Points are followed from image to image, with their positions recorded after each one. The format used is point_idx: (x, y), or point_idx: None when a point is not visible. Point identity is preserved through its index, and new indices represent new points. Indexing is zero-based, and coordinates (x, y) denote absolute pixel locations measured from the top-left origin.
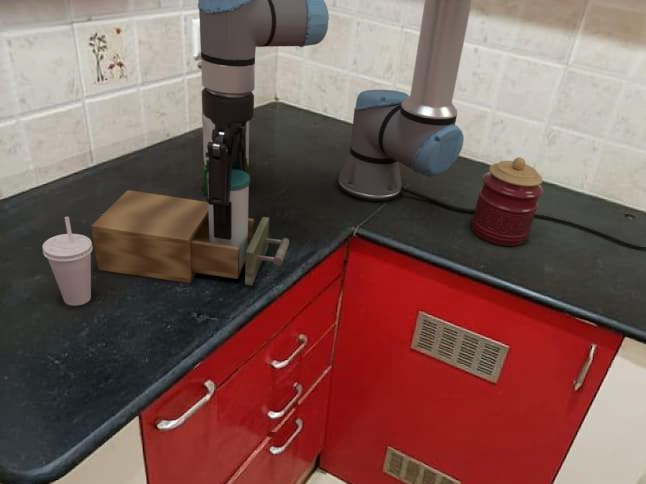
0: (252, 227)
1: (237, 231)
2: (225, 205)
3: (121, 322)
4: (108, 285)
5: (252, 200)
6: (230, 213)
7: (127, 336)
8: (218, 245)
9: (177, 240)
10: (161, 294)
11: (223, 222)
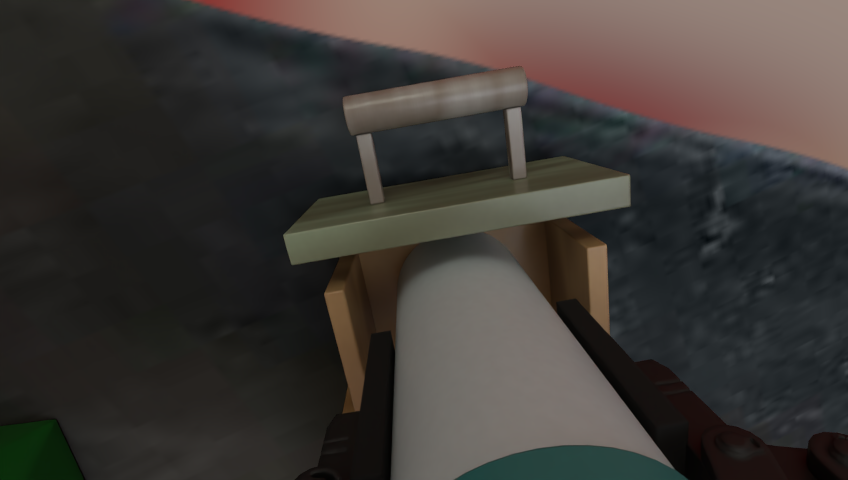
0: (348, 277)
1: (540, 297)
2: (836, 437)
3: (768, 374)
4: None
5: (14, 380)
6: (642, 377)
7: (815, 339)
8: (601, 321)
9: None
10: (645, 357)
11: (661, 369)
